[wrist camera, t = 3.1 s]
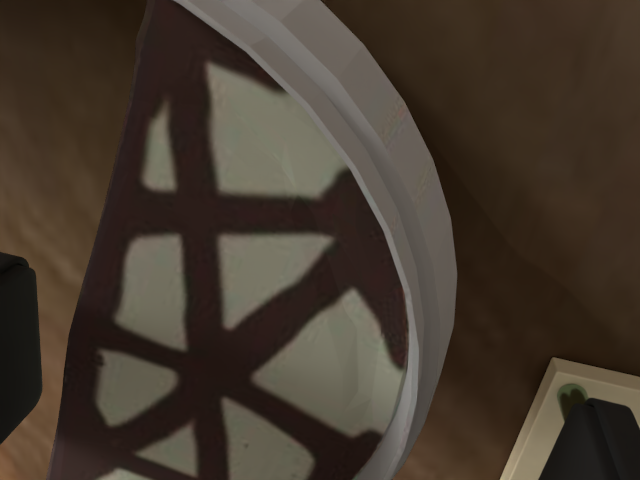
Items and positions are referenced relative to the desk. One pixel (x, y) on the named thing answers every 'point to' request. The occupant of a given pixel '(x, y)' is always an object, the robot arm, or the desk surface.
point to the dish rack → (564, 410)
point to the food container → (258, 261)
